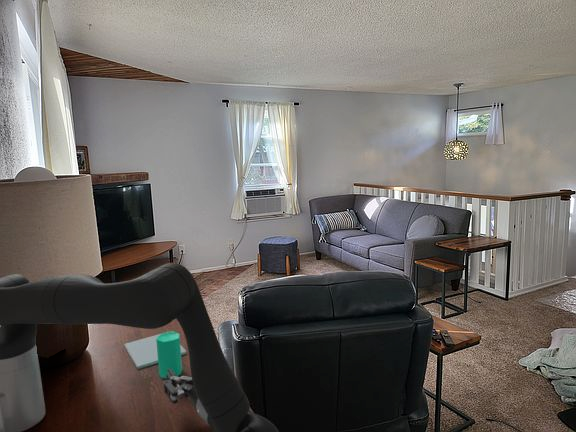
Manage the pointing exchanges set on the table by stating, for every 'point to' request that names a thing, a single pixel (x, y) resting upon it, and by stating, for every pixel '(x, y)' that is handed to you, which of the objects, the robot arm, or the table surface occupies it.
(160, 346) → the candle
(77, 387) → the table surface
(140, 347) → the tile
